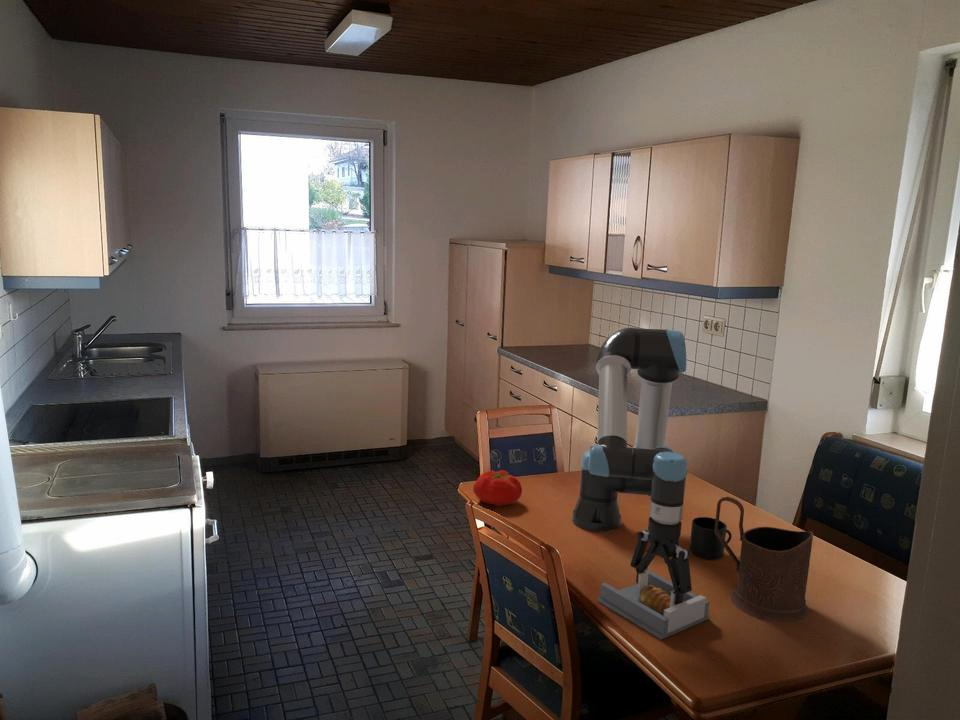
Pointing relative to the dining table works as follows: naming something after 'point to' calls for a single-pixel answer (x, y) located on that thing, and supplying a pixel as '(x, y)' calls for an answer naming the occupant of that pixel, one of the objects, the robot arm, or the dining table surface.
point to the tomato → (497, 488)
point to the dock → (648, 619)
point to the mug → (707, 538)
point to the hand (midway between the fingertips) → (657, 606)
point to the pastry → (655, 598)
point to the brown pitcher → (770, 571)
